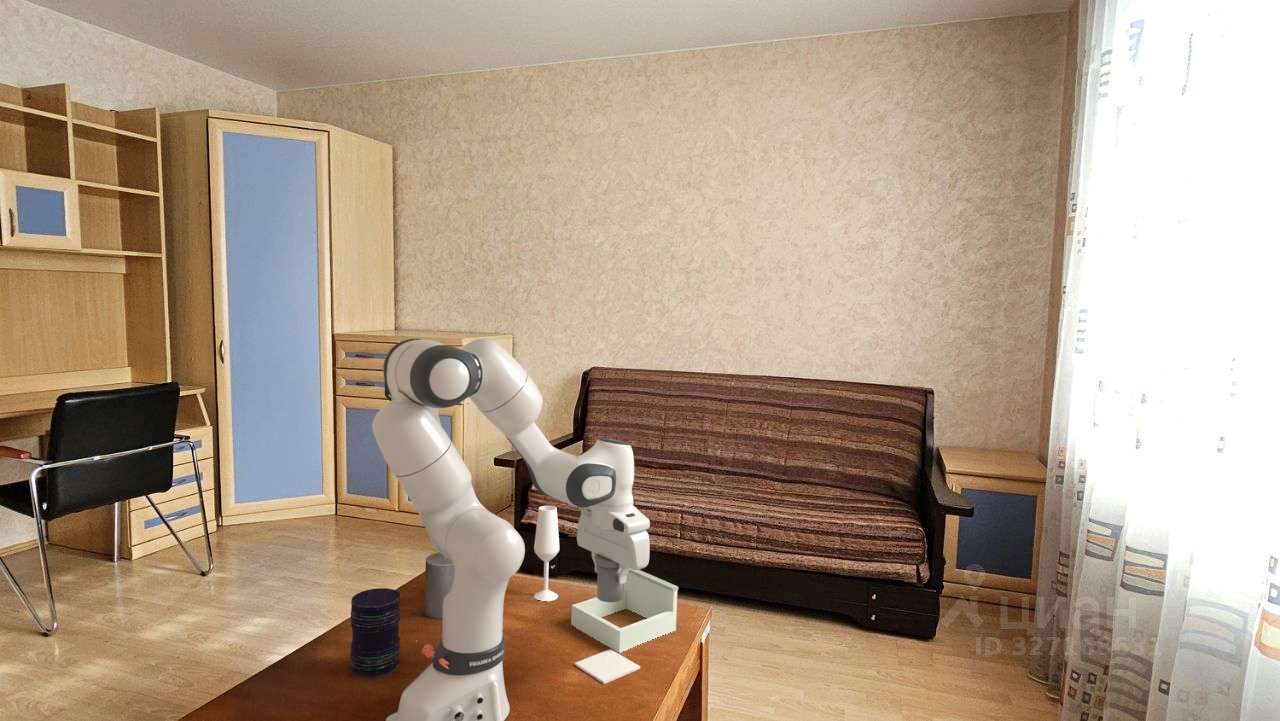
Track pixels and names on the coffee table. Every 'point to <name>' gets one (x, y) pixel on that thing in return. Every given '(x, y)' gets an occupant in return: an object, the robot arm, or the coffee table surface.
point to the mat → (607, 666)
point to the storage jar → (375, 632)
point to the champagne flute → (546, 545)
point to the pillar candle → (437, 583)
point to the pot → (608, 580)
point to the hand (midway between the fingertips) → (610, 577)
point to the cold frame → (639, 597)
